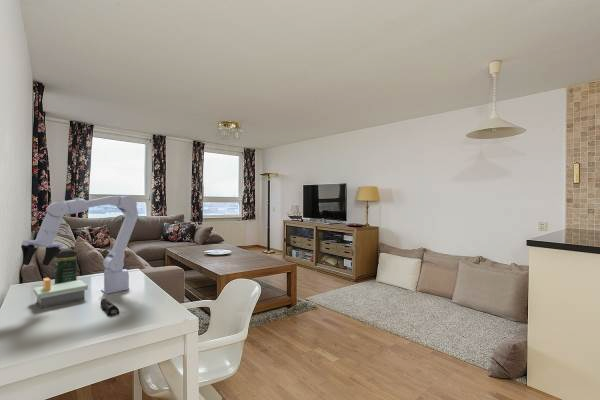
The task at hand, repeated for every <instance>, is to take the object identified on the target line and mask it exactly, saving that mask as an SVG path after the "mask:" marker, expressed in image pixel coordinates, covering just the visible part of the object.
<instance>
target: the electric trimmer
mask: <svg viewBox="0 0 600 400" xmlns="http://www.w3.org/2000/svg"><path fill="white" fill-rule="evenodd" d="M99 303H100V306H101V309H102V310H103V311H106V312H107V315H108V317H114V316H118V315H120V309H119V308H118V306H116V305H115V304H114V303H112V302H110V301H109V300H108V299H106V298H101V301H100V302H99Z"/></svg>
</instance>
